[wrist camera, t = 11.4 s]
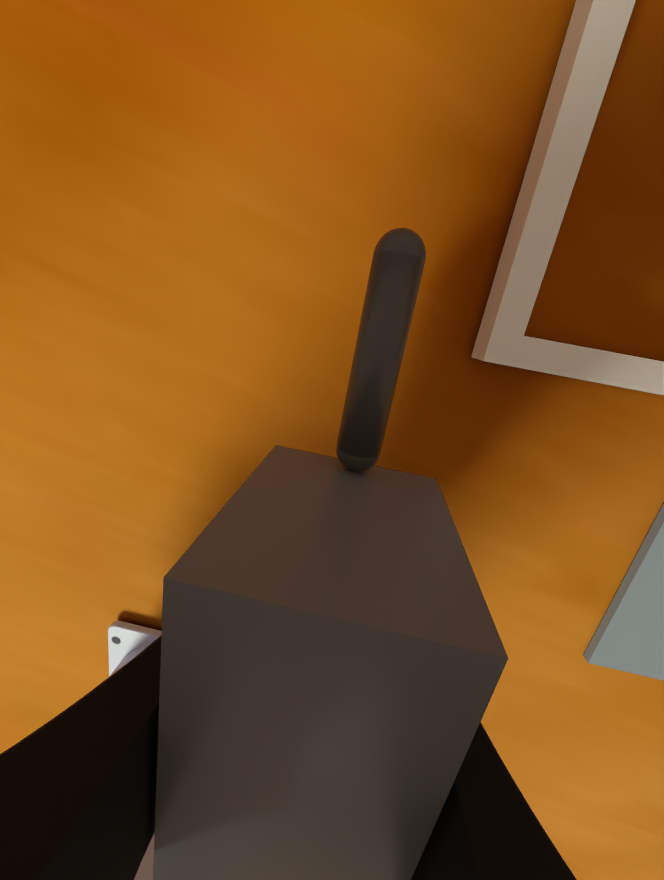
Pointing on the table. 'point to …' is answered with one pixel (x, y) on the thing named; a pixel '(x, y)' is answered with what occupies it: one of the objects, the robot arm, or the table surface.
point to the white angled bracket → (559, 212)
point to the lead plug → (323, 649)
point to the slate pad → (636, 614)
